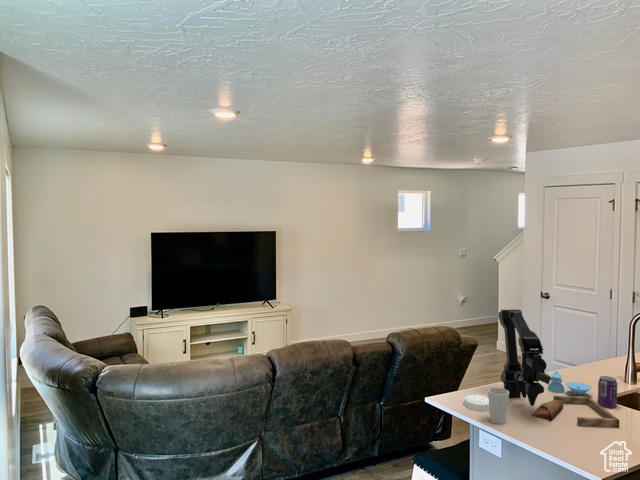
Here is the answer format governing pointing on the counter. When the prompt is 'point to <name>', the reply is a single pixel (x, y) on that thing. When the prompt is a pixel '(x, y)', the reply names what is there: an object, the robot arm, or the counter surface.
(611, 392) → the beverage can
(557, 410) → the sunglasses case
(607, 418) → the corral
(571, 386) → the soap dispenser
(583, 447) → the counter surface
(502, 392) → the cup
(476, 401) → the mooncake
